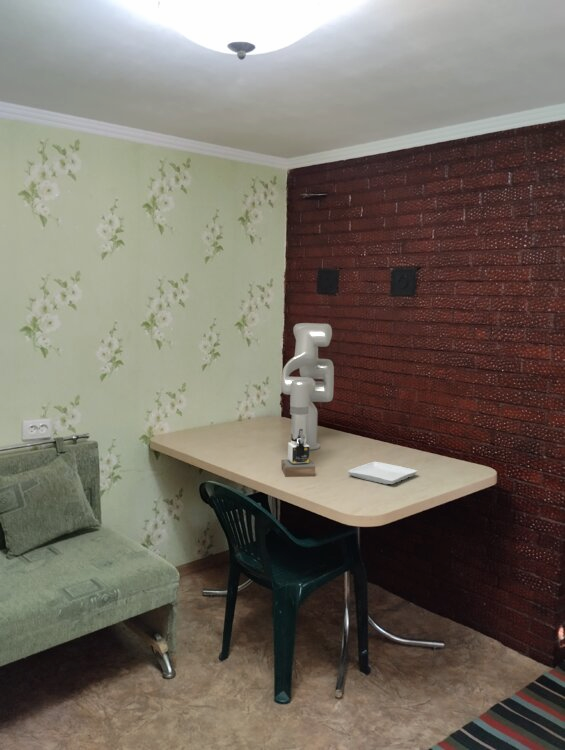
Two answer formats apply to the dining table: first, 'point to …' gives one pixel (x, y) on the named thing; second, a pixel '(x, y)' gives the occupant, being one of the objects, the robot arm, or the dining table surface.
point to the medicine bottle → (292, 452)
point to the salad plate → (382, 472)
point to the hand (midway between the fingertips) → (298, 452)
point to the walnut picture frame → (297, 469)
